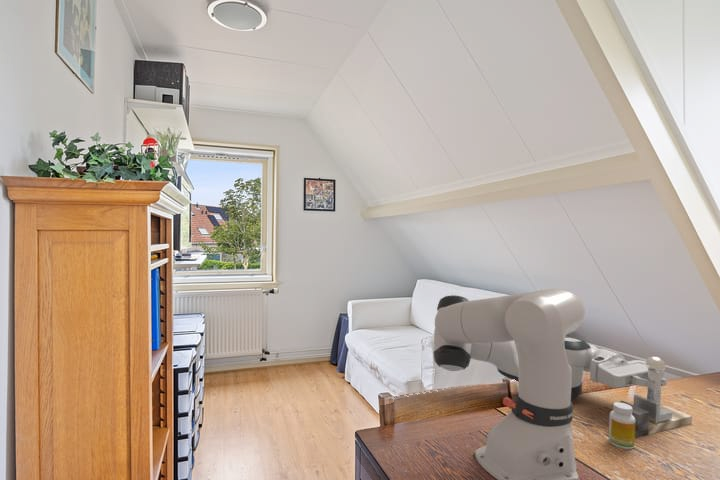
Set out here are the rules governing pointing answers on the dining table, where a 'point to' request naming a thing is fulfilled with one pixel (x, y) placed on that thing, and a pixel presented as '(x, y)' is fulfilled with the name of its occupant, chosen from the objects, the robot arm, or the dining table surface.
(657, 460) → the dining table surface
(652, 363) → the press slide
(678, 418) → the press base
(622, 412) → the supplement bottle
